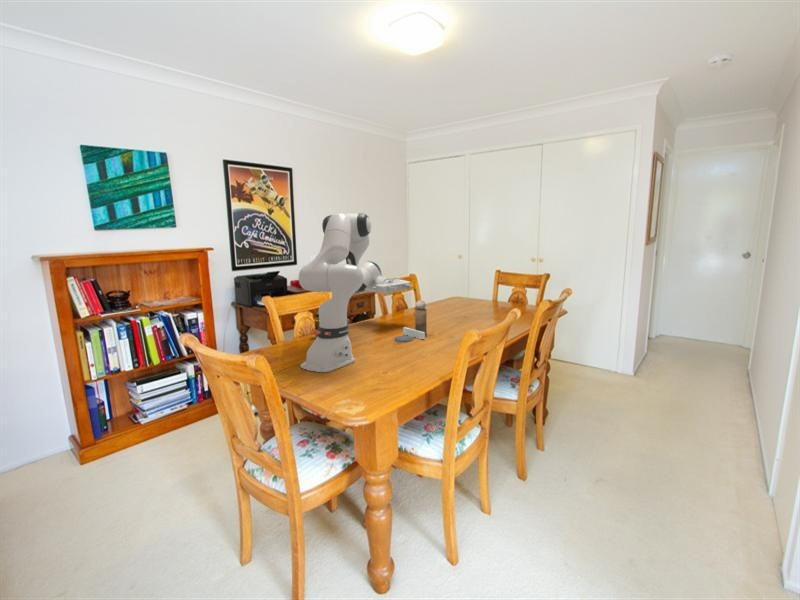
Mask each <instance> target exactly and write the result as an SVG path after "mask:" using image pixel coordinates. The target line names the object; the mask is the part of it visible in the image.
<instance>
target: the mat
mask: <svg viewBox="0 0 800 600" xmlns="http://www.w3.org/2000/svg"><path fill="white" fill-rule="evenodd" d="M393 340H394V341H395V342H397V343H409V341H410V342H412V340H413V341H414V337H411V336H407V335H399V336H398V335H397V336H395V337H394V339H393Z"/></svg>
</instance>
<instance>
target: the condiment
mask: <svg viewBox="0 0 800 600" xmlns="http://www.w3.org/2000/svg"><path fill="white" fill-rule="evenodd" d="M319 326H320V325H319V312H318V313H317V312H316V313H315V314H314V330H318V327H319ZM314 337H316V338H317V335H314Z"/></svg>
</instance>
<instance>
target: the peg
mask: <svg viewBox="0 0 800 600" xmlns="http://www.w3.org/2000/svg"><path fill="white" fill-rule="evenodd" d="M426 305H427V303H426V302H425V301H424V300H423V299H420V300H417V301H416V303H415V309H414V330H418V331H421V332H425V335H426V336H427V333H428V331H427V325H428V324H427V308H426Z"/></svg>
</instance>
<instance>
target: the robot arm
mask: <svg viewBox="0 0 800 600" xmlns="http://www.w3.org/2000/svg"><path fill="white" fill-rule="evenodd" d="M321 225H322V232H323V234H324V235H323V240H322V244H321V247H320V250H319V252H318V254H317V255H316V256H315V258H313V260H311V261H310V262H309V263H307V264H305V265H304V266H303V267H301V269H300V270H299V273H298V283H299V285H300V287H301V288H302V289H303V290H306V291H310V292H314V293H315V292H316V293H318V292H320V293H322V292H323V293H329V292H330V293H331V294H332V295H331V298H330V299H328V300H326V301H325V300H324V302H323V303H321V304H320V306H319V307H318V313H319V325H320V326H319V327H318V330H315V329H313V330H312V335H314V336H315V335H317V338H316V339H314V341H313V343H311V345H310V347H309V348H308V350H307V351H306V357H305V358H306V359H305V361H304V362H301V364H300V368H301V369H302V368H303V369H302V370H305V369H306V371H309V372H310V371H311V372H314V371H315V372H317V373H330V372H332V371H335V370H338V369H340V368H342V367H345V366H347V365H349V364H352V363H355V362H356V358H355V357H354V355H353V350H352V343H351V342H352V341H351V340H350V337H349V333H350V332H349V324H348V306H349V302H350V299H351V297H352V296H353V295H354V294H355V293H356V292H357V293H358V292H359V293H361V292H364V291H365V290H368V291H369V292H373V293H379V294H384V295H390V294H391V293H393V292H398V291H404V290H411V289H412V285H411V282H410V281H408V280H405V279H400V278H399V277H393V278H392V277H387V276H386V277H385V276H382V275H383V274H382V271H381V268H380V266H379V265H378V264H377V263H376V262H373V261H370V260H367V261H365V262H364V263H363V264H362V265H361V266H360V267H359V263H360V260H361V258H362V257H363V255H364V253H365V252H366V251H367V249H368V248H369V246H370V236H369V235H370V233H371V231H372V222H371V219H370V216H368V215H367V214H366V213H361V212H359V213H340V212H339V213H338V212H337V213H334V214H330V215H327V216H325V217H324V218H323V220H322V224H321ZM344 261H345V262H346V263H341V262H344ZM315 372H314V373H315Z"/></svg>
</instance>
